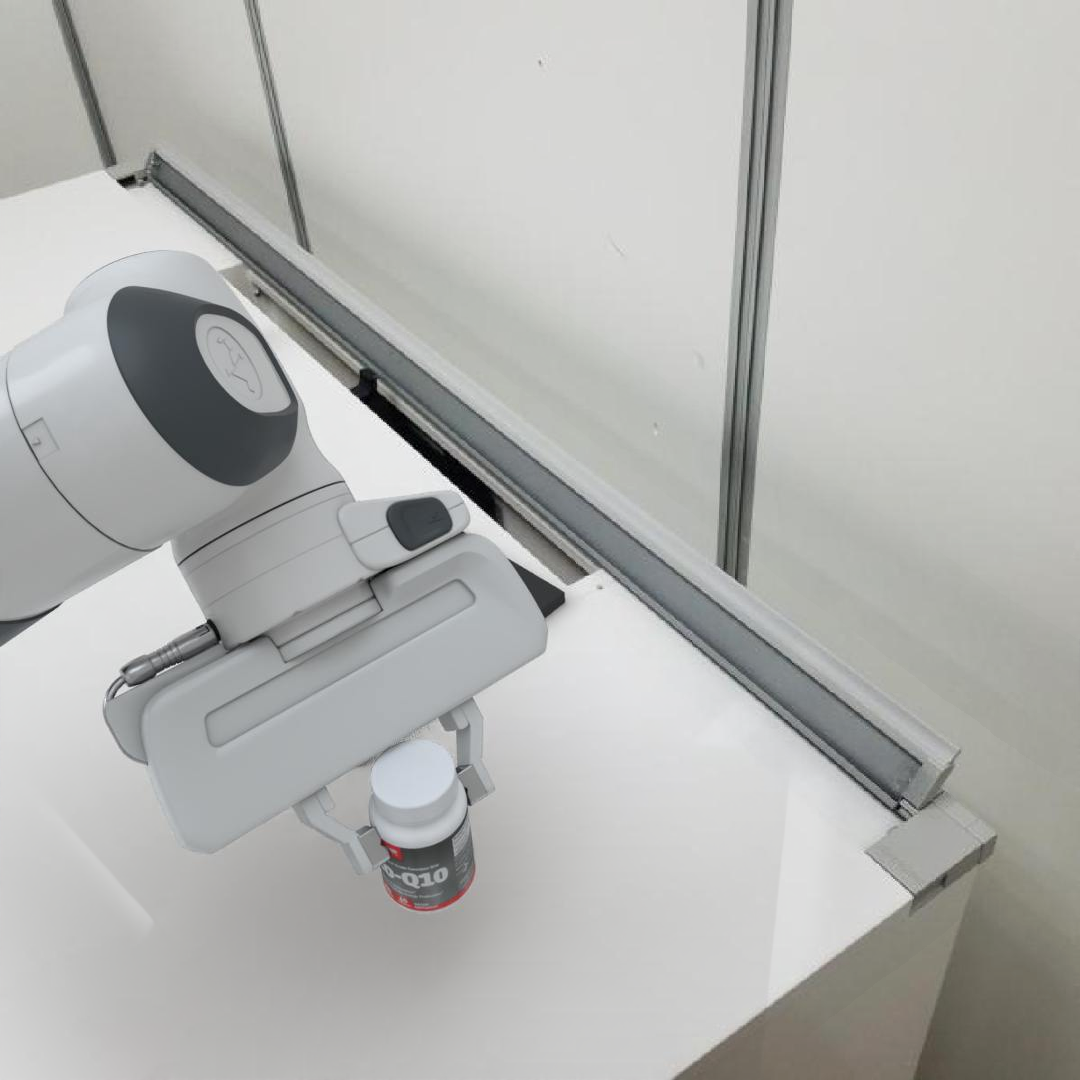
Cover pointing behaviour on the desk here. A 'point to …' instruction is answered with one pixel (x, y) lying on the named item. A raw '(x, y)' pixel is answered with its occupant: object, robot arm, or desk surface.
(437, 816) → the pill bottle
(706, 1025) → the desk surface
